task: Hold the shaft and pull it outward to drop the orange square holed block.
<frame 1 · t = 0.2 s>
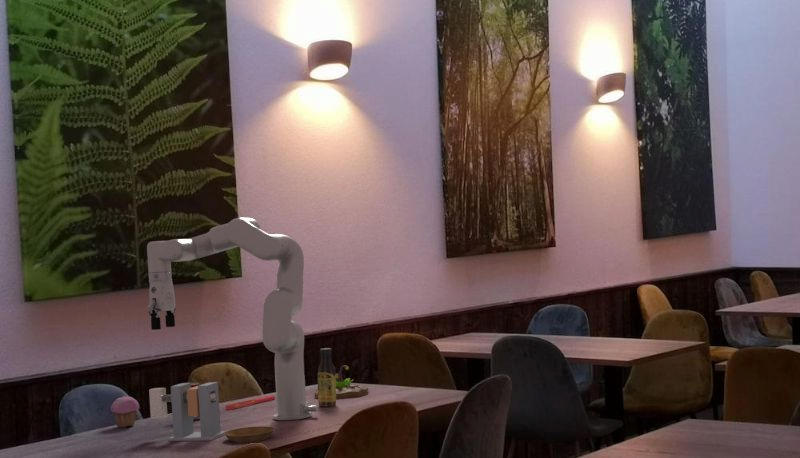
hand: (163, 328, 366), 31 cm above the table, fingers open, 9 cm apart
shaft: (183, 402, 328), point 10 cm above the table, slide at 0.0 cm, touching orange square holed block
plant saucer: (250, 440, 319), on the table
red long bar: (250, 406, 391), on the table
bearing stand: (197, 437, 327), on the table
orange square holed block: (199, 413, 327), point 7 cm above the table, touching shaft
sauce bottle: (328, 406, 375), on the table
plant: (342, 396, 401), on the table
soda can: (192, 420, 364), on the table
cupcake: (126, 427, 357), on the table
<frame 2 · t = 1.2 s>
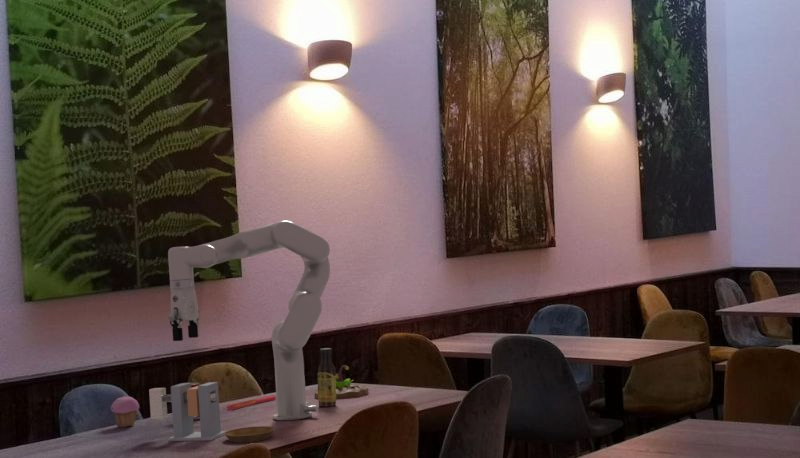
hand: (185, 339, 345), 28 cm above the table, fingers open, 9 cm apart
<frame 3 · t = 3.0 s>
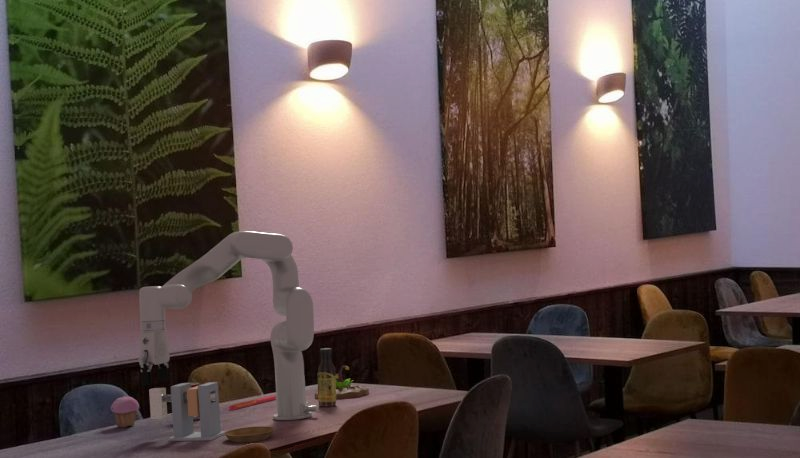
hand: (155, 383, 330), 17 cm above the table, fingers open, 9 cm apart
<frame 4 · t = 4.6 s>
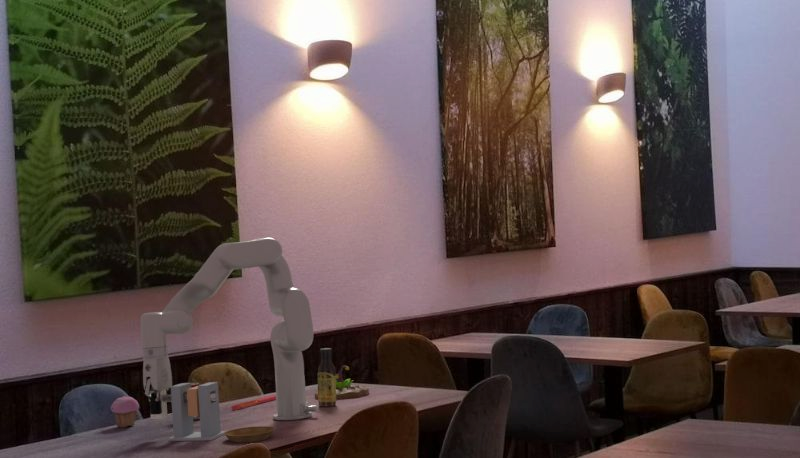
hand: (158, 412, 330), 8 cm above the table, fingers closed on shaft, 3 cm apart
shaft: (183, 402, 328), point 10 cm above the table, slide at 0.0 cm, touching gripper, orange square holed block
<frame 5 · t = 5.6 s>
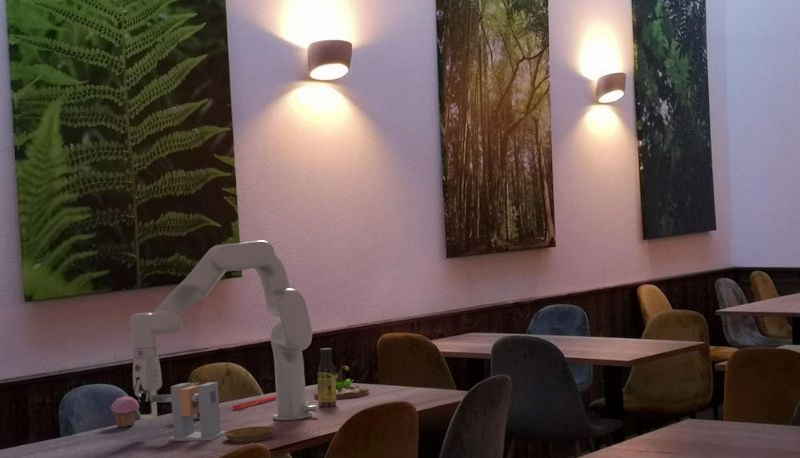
hand: (148, 412, 331), 8 cm above the table, fingers closed on shaft, 3 cm apart
shaft: (173, 403, 329), point 10 cm above the table, slide at 3.4 cm, touching gripper
orange square holed block: (191, 413, 327), point 7 cm above the table, touching bearing stand
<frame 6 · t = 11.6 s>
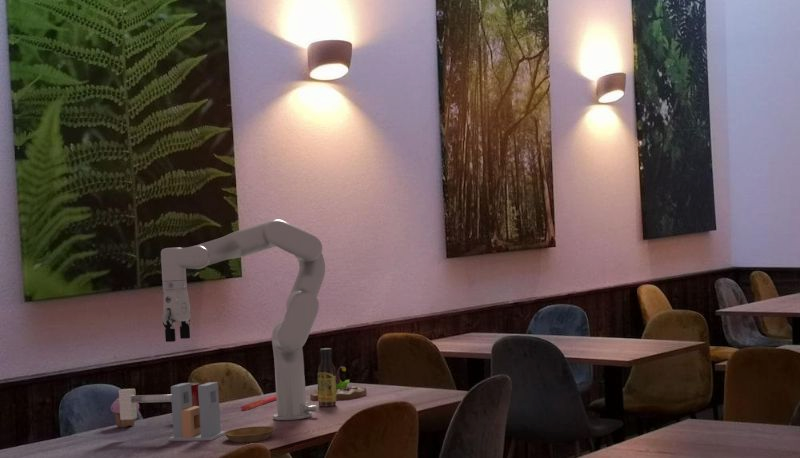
hand: (178, 339, 345), 28 cm above the table, fingers open, 9 cm apart
shaft: (152, 403, 331), point 10 cm above the table, slide at 10.4 cm
red long bar: (259, 406, 388), on the table
orange square holed block: (193, 434, 327), point 1 cm above the table, touching bearing stand
plant: (339, 398, 397), on the table
everything else where it was.
at the end: shaft slide at 10.4 cm; orange square holed block point 0.8 cm above the table; orange square holed block touching bearing stand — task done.
